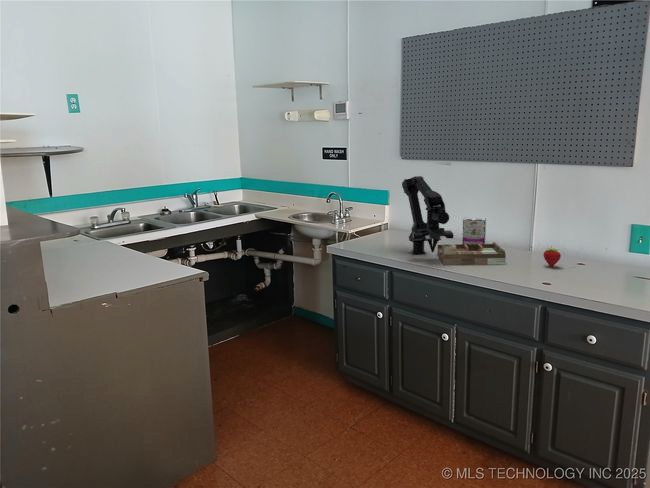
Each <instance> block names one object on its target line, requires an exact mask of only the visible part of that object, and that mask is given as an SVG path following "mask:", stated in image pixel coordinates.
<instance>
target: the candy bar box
mask: <svg viewBox="0 0 650 488" xmlns="http://www.w3.org/2000/svg"><path fill="white" fill-rule="evenodd" d="M486 226H487V218H486V217H485V218H484V217H464V218H462V244H486V232H487V231H486V228H487V227H486Z"/></svg>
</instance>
